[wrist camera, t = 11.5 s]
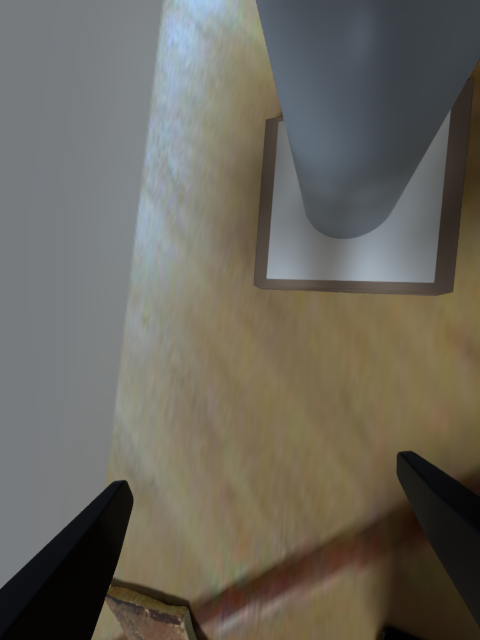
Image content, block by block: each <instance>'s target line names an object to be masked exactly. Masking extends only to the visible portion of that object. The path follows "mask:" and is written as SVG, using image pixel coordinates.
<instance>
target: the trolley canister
mask: <svg viewBox="0 0 480 640" xmlns="http://www.w3.org/2000/svg"><path fill="white" fill-rule="evenodd" d="M256 3H257V7H258V12H259V16H260V20H261V24H262V29H263V33H264V37H265V42H266V46H267V50H268V54H269V59H270V63H271V67H272V71H273V76H274V80H275V84H276V89H277V93H278V97H279V101H280V106H281V110H282V114H283V118H284V123H285V127H286V131H287V136H288V140H289V144H290V148H291V153H292V157H293V161H294V165H295V170H296V174H297V178H298V183H299V187H300V191H301V195H302V200H303V204H304V208H305V212H306V215H307V218H308V220H309V221H310V223H311V224H312V225H313V227H314V228H315V229H317V230H318V231H319V232H321V233H322V234H324V235H326V236H329V237H332V238H337V239H350V238H356V237H359V236H362V235H365V234H367V233H369V232H371V231H373V230H374V229H376V228H377V227H378V226H380V225H381V224H382V223H383V222H384V221H385V220H386V219H387V218H388V217H389V215H390V214H391V212H392V211H393V209H394V207H395V206H396V204H397V202H398V200H399V199H400V197H401V195H402V193H403V192H404V190H405V188H406V186H407V185H408V183H409V181H410V179H411V178H412V176H413V174H414V172H415V171H416V169H417V167H418V165H419V164H420V162H421V160H422V158H423V157H424V155H425V153H426V151H427V150H428V148H429V146H430V144H431V143H432V141H433V139H434V137H435V136H436V134H437V132H438V130H439V129H440V127H441V125H442V123H443V122H444V120H445V118H446V116H447V115H448V113H449V111H450V109H451V108H452V106H453V104H454V102H455V101H456V99H457V97H458V95H459V94H460V92H461V90H462V88H463V87H464V85H465V83H466V82H467V80H468V78H469V76H470V75H471V73H472V71H473V69H474V68H475V66H476V64H477V62H478V61H479V59H480V0H256Z"/></svg>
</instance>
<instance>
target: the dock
mask: <svg viewBox="0 0 480 640" xmlns="http://www.w3.org/2000/svg"><path fill="white" fill-rule="evenodd" d="M473 85H474V78H471V79H468V80H467V82H466V83H465V85H464V87H463V88H462V90H461V92H460V94H459V95H458V97H457V99H456V101H455V102H454V104H453V106H452V108H451V109H450V111H449V113H448V115H447V116H446V118H445V120H444V122H443V123H442V125H441V127H440V129H439V130H438V132H437V134H436V136H435V137H434V139H433V141H432V143H431V144H430V146H429V148H428V150H427V151H426V153H425V155H424V157H423V158H422V160H421V162H420V164H419V165H418V167H417V169H416V171H415V172H414V174H413V176H412V178H411V179H410V181H409V183H408V185H407V186H406V188H405V190H404V192H403V193H402V195H401V197H400V199H399V200H398V202H397V204H396V206H395V207H394V209H393V211H392V212H391V214H390V215H389V217H388V218H387V219H386V220H385V221H384V222H383V223H382V224H381V225H380V226H378V227H377V228H376V229H374V230H373V231H371V232H369V233H367V234H365V235H362V236H359V237H356V238H350V239H337V238H332V237H329V236H326V235H324V234H322V233H321V232H319V231H318V230H317V229H315V228H314V227H313V225H312V224H311V223H310V221H309V220H308V218H307V215H306V212H305V208H304V204H303V200H302V195H301V191H300V187H299V183H298V178H297V174H296V170H295V165H294V161H293V157H292V153H291V148H290V144H289V140H288V136H287V131H286V127H285V123H284V118H283V116H282V117H277V118H272V119H267V120H266V127H265V140H264V153H263V166H262V180H261V193H260V206H259V219H258V232H257V246H256V259H255V272H254V286H256V287H259V288H261V289H272V290H298V291H324V292H349V293H375V294H401V295H427V296H437V295H442V294H446V293H451V292H453V286H454V276H455V266H456V256H457V246H458V236H459V226H460V216H461V206H462V195H463V185H464V175H465V165H466V155H467V145H468V135H469V125H470V115H471V105H472V95H473Z"/></svg>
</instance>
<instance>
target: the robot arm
mask: <svg viewBox="0 0 480 640" xmlns="http://www.w3.org/2000/svg"><path fill="white" fill-rule="evenodd" d="M397 476H398V479H399V481H400V483H401V486H402V488H403V490H404V492H405V494H406V496H407V498H408V500H409V502H410V504H411V506H412V508H413V511H414V513H415V515H416V517H417V519H418V521H419V523H420V525H421V527H422V529H423V531H424V533H425V535H426V537H427V539H428V541H429V542H430V544H431V546H432V548H433V549H434V551H435V553H436V555H437V556H438V558H439V560H440V561H441V563H442V565H443V566H444V568H445V570H446V572H447V573H448V575H449V577H450V578H451V580H452V582H453V583H454V585H455V587H456V589H457V590H458V592H459V594H460V595H461V597H462V599H463V601H464V602H465V604H466V606H467V607H468V609H469V611H470V612H471V614H472V616H473V618H474V619H475V621H476V623H477V624H478V626H479V628H480V496H479V495H478V494H476V493H475V492H473V491H472V490H470V489H469V488H467V487H466V486H464V485H463V484H461V483H460V482H458V481H457V480H455V479H454V478H452V477H451V476H449V475H448V474H446V473H445V472H443V471H442V470H440V469H439V468H437V467H436V466H434V465H433V464H431V463H430V462H428V461H427V460H425V459H424V458H422V457H421V456H419V455H418V454H416V453H414V452H412V451H403V452H398V454H397ZM133 502H134V499H133V495H132V492H131V490H130V487H129V485H128V482H127V481H126V480H119V481H114V482H112V483H111V484H110V485H109V486H108V487H107V488H106V489H105V490H104V491H103V492H102V493H101V494H100V495H99V496H97V497H96V498H95V499H94V500H93V501H92V502H91V503H90V504H89V505H88V506H87V507H86V508H85V509H84V510H83V511H82V512H81V513H80V514H79V515H78V516H77V517H75V518H74V519H73V520H72V521H71V522H70V523H69V524H68V525H67V526H66V527H65V528H64V529H63V530H62V531H61V532H60V533H59V534H58V535H57V536H55V537H54V539H52V540H51V541H50V542H49V543H48V544H47V545H46V546H45V547H44V548H43V549H42V550H41V551H40V552H39V553H38V554H37V555H36V556H34V557H33V558H32V559H31V560H30V561H29V562H28V563H27V564H26V565H25V566H24V567H23V568H22V569H21V570H20V571H19V572H18V573H17V574H16V575H15V576H13V577H12V578H11V579H10V580H9V581H8V582H7V583H6V584H5V585H4V586H3V587H2V588H1V589H0V640H91V638H92V636H93V633H94V630H95V627H96V624H97V621H98V618H99V615H100V612H101V610H102V607H103V604H104V601H105V598H106V595H107V592H108V589H109V587H110V584H111V581H112V578H113V575H114V572H115V569H116V566H117V563H118V560H119V557H120V553H121V549H122V546H123V542H124V538H125V534H126V530H127V526H128V523H129V519H130V515H131V511H132V507H133ZM390 637H392V638H390ZM382 640H419V639H417V638H415V637H412V636H410V635H408V634H405V633H403V632H401V631H399V630H396V629H394V628H392V627H385V628H384V629H383V634H382Z"/></svg>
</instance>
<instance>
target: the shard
mask: <svg viewBox="0 0 480 640" xmlns="http://www.w3.org/2000/svg"><path fill="white" fill-rule="evenodd" d="M105 601H106V603H107V604H108V606H109V608H110V610H111V611H112V612H113V613H114V615H115V616H116V618H117V620H118V622H119V623H120V626H121V628H122V630H123V631H124V634H125V636H126V637H127V639H128V640H197V639H196V636H195V633H194V630H193V626H192V622H191V617H190V613H189V610H188V608H187V607H185V606H176V605H175V606H174V605H171V606H169V605H166V604H164V603H162V602H160V601H158V600H155V599H153V598H151V597H149V596H146V595H143V594H140V593H138V592H136V591H132V590H130V589H128V588H123V587H121V588H120V587H117V586H115V587H114V586H113V587H110V588H109V590H108V592H107V595H106V598H105Z"/></svg>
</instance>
